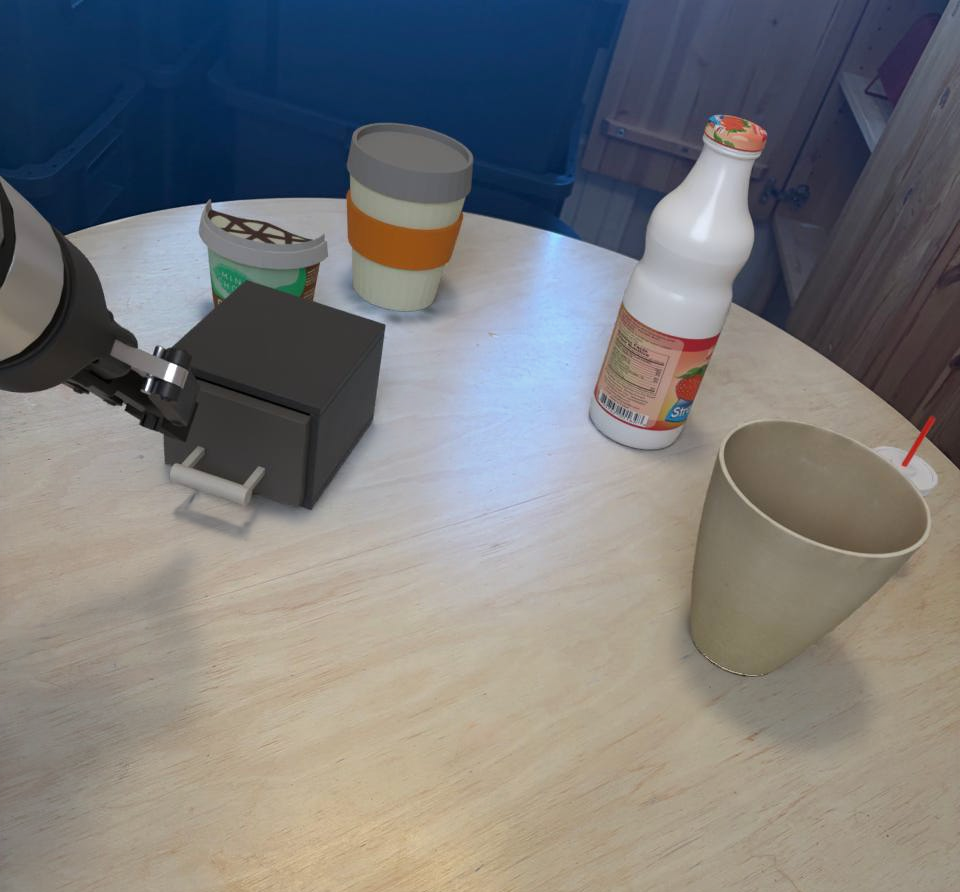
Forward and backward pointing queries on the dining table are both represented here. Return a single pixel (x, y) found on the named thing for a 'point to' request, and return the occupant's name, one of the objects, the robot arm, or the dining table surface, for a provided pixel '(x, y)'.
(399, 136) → the reusable coffee cup
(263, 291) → the cabinet
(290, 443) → the drawer
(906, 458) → the beverage cup
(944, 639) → the dining table surface
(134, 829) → the dining table surface
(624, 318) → the fruit juice
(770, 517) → the plant pot
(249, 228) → the food container
